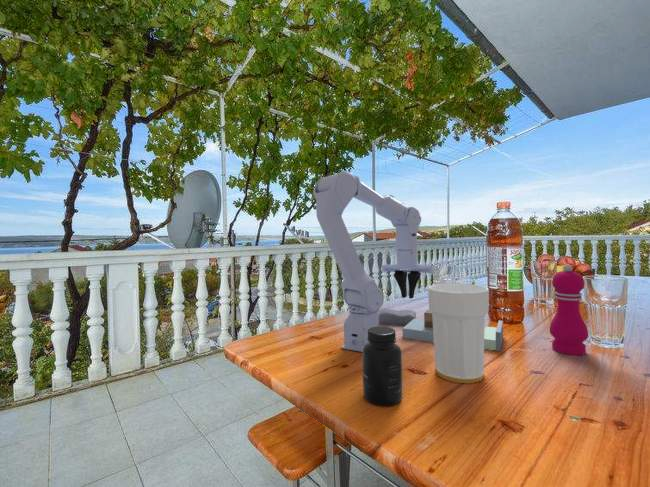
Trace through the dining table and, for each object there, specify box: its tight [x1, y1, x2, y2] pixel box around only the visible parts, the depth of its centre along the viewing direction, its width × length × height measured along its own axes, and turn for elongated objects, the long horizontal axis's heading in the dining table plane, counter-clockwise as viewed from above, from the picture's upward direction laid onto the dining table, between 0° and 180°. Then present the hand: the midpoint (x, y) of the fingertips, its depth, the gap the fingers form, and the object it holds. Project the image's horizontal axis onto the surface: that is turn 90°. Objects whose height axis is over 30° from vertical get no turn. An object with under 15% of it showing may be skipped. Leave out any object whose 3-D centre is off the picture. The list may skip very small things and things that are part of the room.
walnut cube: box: [423, 309, 433, 328], centre depth 90 cm, size 4×4×4 cm
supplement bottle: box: [361, 325, 403, 407], centre depth 57 cm, size 7×7×12 cm
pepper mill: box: [549, 264, 589, 356], centre depth 76 cm, size 7×7×20 cm
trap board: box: [401, 318, 504, 352], centre depth 87 cm, size 24×11×4 cm, turn 59°
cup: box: [427, 282, 490, 384], centre depth 65 cm, size 11×11×17 cm
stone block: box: [378, 307, 417, 326], centre depth 106 cm, size 12×5×10 cm
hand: (407, 297), depth 93 cm, fingers closed
